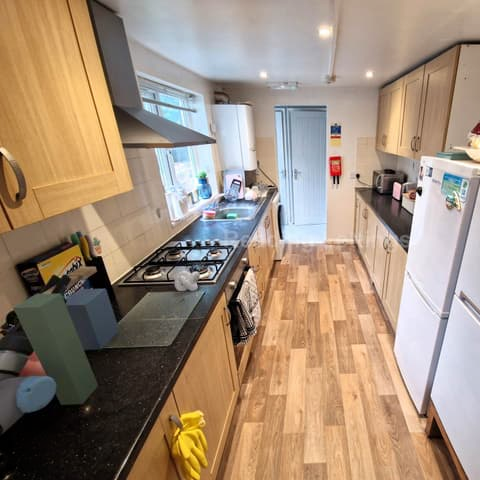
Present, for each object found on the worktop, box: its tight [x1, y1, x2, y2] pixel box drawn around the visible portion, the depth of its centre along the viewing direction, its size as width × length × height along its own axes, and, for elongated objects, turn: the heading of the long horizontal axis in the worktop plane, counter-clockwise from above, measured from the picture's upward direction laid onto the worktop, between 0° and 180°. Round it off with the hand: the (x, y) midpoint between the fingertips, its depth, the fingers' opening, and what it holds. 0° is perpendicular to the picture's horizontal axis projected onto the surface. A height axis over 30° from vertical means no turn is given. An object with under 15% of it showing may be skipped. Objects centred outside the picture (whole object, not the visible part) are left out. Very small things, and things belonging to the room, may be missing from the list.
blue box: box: [66, 288, 120, 351], centre depth 95 cm, size 9×10×20 cm
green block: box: [12, 293, 99, 406], centre depth 72 cm, size 6×6×34 cm
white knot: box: [173, 270, 201, 292], centre depth 132 cm, size 11×12×9 cm
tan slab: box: [42, 266, 98, 294], centre depth 86 cm, size 18×5×2 cm, turn 3°
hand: (62, 277), depth 84 cm, fingers closed on tan slab, 2 cm apart
